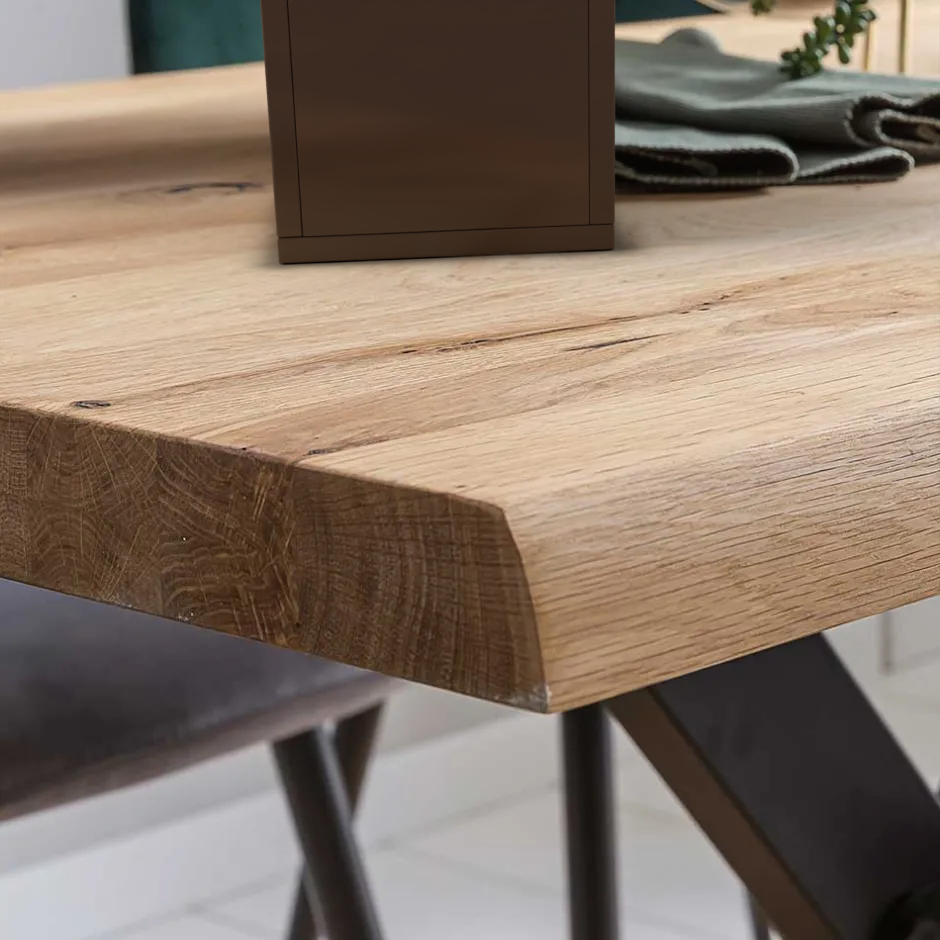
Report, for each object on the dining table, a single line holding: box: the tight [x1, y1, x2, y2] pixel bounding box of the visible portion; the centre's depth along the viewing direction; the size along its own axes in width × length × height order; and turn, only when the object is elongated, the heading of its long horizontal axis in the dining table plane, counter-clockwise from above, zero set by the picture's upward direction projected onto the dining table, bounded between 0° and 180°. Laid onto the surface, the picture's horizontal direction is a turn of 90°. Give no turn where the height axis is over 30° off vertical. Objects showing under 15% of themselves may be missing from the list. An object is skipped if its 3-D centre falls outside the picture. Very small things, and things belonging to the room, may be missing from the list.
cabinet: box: [259, 0, 616, 264], centre depth 60 cm, size 14×12×10 cm
